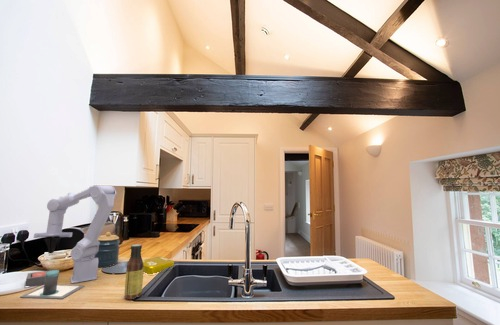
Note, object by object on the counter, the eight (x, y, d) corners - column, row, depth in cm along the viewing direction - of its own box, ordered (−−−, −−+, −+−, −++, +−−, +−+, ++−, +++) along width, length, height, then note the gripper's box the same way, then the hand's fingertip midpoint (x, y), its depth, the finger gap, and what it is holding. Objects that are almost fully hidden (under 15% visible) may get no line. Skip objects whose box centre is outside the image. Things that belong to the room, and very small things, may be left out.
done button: (46, 277, 104) (47, 270, 104) (45, 281, 100) (46, 273, 100) (31, 280, 101) (32, 272, 101) (30, 283, 97) (31, 276, 97)
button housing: (50, 278, 106) (51, 270, 106) (50, 283, 100) (51, 275, 100) (26, 281, 101) (27, 273, 101) (24, 287, 95) (26, 279, 95)
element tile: (175, 269, 125) (175, 260, 126) (150, 276, 113) (150, 266, 114) (158, 263, 134) (159, 255, 134) (133, 270, 121) (134, 260, 122)
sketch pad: (19, 297, 86) (20, 296, 86) (47, 285, 98) (47, 283, 98) (62, 299, 86) (62, 297, 86) (84, 286, 98) (84, 285, 98)
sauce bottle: (144, 295, 92) (149, 244, 95) (132, 301, 87) (137, 247, 89) (132, 292, 95) (137, 242, 97) (119, 298, 89) (125, 245, 91)
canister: (113, 267, 123) (117, 233, 125) (86, 268, 120) (90, 233, 122) (121, 260, 135) (124, 230, 138) (96, 261, 133) (100, 229, 135)
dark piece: (56, 290, 93) (59, 269, 94) (55, 293, 90) (59, 272, 91) (42, 292, 90) (46, 271, 91) (42, 296, 87) (45, 274, 88)
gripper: (32, 225, 105) (27, 255, 104) (70, 224, 111) (66, 254, 109) (39, 223, 112) (35, 252, 110) (75, 222, 117) (71, 250, 115)
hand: (51, 252), depth 110 cm, fingers closed
